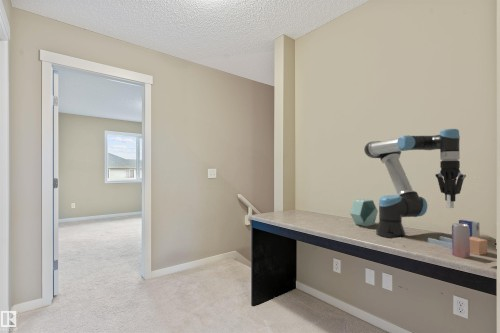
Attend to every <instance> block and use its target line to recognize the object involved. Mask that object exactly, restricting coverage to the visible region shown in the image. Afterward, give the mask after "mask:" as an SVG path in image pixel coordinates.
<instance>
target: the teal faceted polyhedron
mask: <svg viewBox="0 0 500 333" xmlns="http://www.w3.org/2000/svg"><path fill="white" fill-rule="evenodd" d="M378 213H379V209H378V208H377V206H376V204H375V201H374V200H373V199H368V198H367V199H365V198H360V199H353V202H352V206H351V211H350V216H351V218H352V219H353V220H352V221H353V222H354V224H355V225H356V226H362V227H369V226H375V224H376V220H377V216H378Z"/></svg>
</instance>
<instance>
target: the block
mask: <svg viewBox="0 0 500 333" xmlns="http://www.w3.org/2000/svg"><path fill="white" fill-rule="evenodd" d="M488 251H489V250H488V239H484V238H476V237H470V254H474V255H478V256H482V255H487V254H488Z"/></svg>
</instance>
